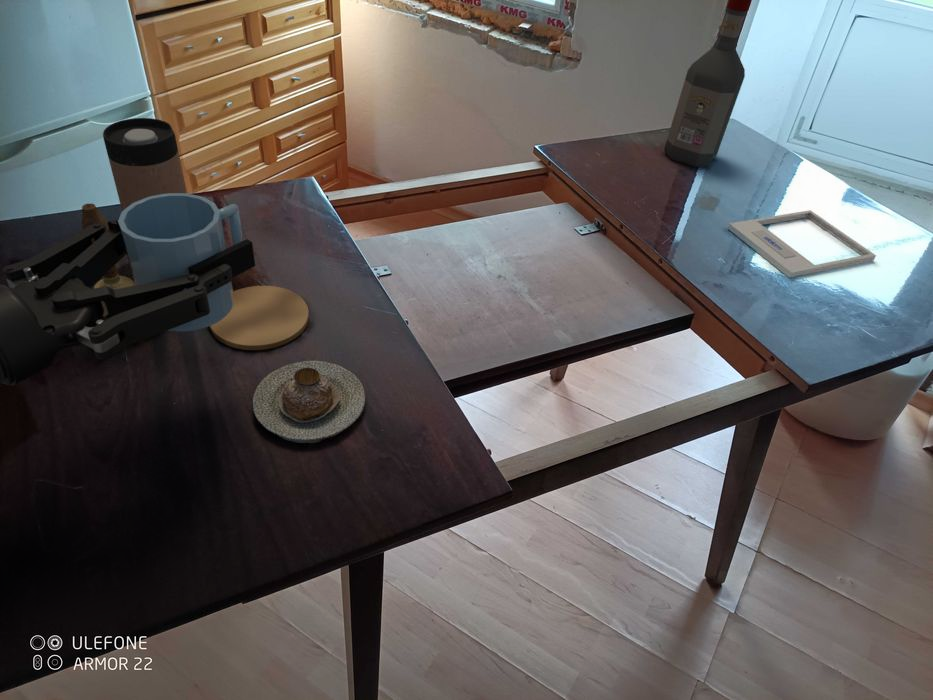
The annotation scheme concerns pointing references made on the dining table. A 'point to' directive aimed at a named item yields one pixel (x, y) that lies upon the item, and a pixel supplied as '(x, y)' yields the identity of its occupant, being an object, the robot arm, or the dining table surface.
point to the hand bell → (88, 218)
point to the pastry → (308, 401)
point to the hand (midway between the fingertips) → (219, 234)
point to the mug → (178, 243)
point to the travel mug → (143, 159)
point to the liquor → (709, 95)
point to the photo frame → (786, 255)
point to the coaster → (262, 318)
